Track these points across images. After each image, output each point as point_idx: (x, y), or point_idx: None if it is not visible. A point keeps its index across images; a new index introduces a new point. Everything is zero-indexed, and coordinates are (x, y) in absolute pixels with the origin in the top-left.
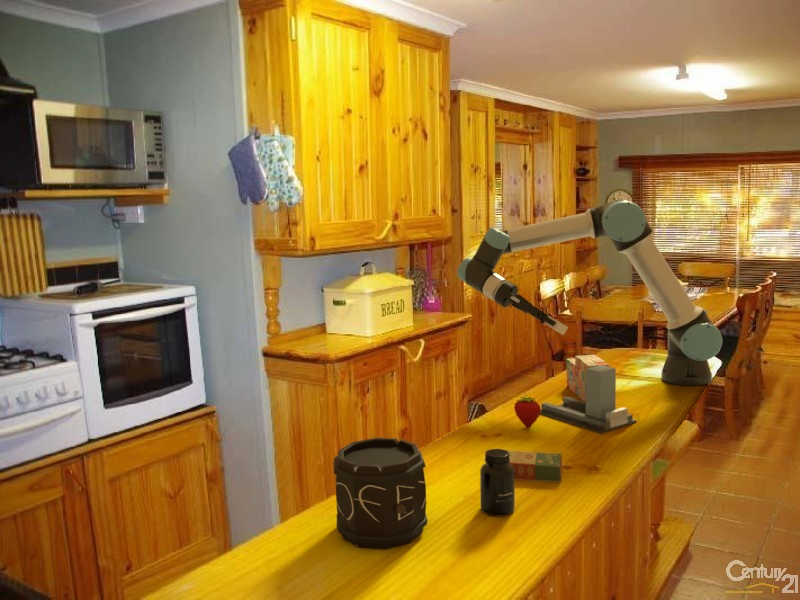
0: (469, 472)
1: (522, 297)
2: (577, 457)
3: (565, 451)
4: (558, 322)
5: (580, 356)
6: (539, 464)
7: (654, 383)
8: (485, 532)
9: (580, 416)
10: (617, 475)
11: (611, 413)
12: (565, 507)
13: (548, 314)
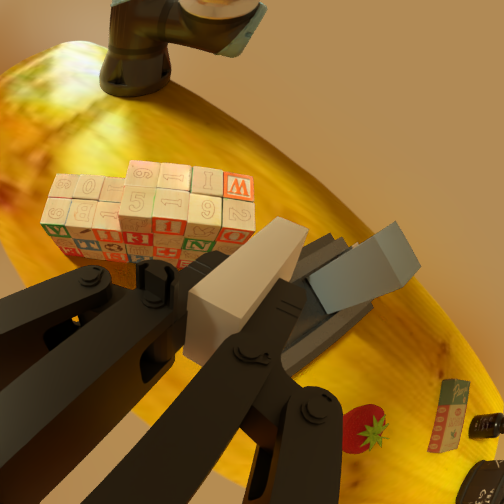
0: (433, 467)
1: None
2: (426, 359)
3: (415, 372)
4: (286, 261)
5: (132, 203)
6: (467, 400)
7: (127, 110)
8: None
9: (342, 326)
10: (451, 327)
11: None
12: (476, 379)
13: (175, 299)
